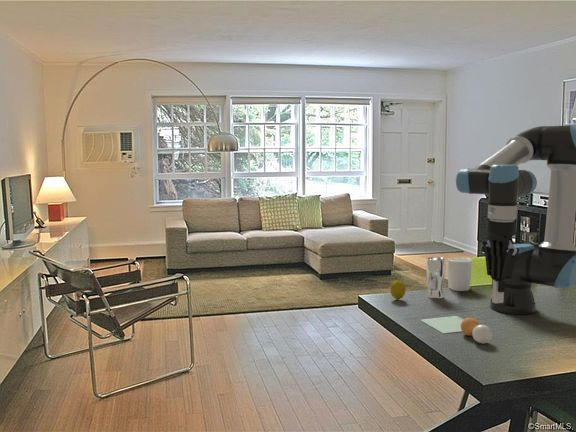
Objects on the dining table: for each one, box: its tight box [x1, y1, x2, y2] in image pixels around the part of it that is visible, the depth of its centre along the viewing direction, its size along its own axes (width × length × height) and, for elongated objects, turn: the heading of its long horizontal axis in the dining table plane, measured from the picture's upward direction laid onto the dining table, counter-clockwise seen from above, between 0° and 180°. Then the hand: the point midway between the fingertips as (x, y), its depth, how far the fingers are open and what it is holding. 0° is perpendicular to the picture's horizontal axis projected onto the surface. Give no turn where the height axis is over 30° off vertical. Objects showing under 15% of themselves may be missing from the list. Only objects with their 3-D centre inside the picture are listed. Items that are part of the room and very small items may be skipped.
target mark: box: [419, 315, 464, 335], centre depth 182 cm, size 14×14×1 cm
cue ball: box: [472, 324, 493, 344], centre depth 165 cm, size 6×6×6 cm
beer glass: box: [426, 256, 446, 300], centre depth 214 cm, size 7×7×15 cm
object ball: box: [461, 317, 480, 337], centre depth 171 cm, size 6×6×6 cm
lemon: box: [390, 279, 406, 301], centre depth 210 cm, size 6×6×8 cm
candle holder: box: [447, 256, 474, 292], centre depth 227 cm, size 10×10×12 cm
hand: (497, 302), depth 158 cm, fingers closed
